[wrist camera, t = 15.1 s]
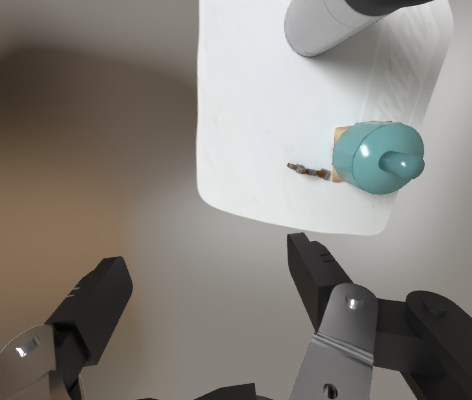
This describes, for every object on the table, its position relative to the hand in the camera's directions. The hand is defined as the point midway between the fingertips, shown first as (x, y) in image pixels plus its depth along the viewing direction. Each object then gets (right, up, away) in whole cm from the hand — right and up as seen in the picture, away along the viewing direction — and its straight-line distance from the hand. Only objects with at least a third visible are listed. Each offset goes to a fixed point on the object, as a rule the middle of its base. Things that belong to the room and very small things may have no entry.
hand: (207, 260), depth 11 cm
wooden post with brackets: (+16, +9, +35) cm, 39 cm away
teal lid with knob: (+26, +12, +33) cm, 44 cm away
